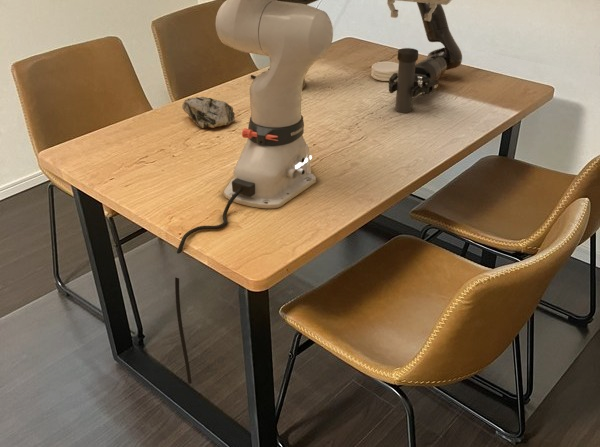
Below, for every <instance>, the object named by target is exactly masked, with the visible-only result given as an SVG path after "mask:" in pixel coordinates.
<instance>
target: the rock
mask: <svg viewBox="0 0 600 447" xmlns="http://www.w3.org/2000/svg"><path fill="white" fill-rule="evenodd" d="M181 109H182V110H183V111H184V113H186V114H187V115H188V117H190V118H191V120H192V122H193V123H194V124H195V125H196V126H198V128H202V129H208V128H211V129H213V128H216V127H222V126H229V125H230V124H231V123H233V122H234V121H235V118H236V116H235V112H234V107H233V106H231V105H230V104H229V103H228V102H226V101H223V100H219V99H215V98H211V97H205V96H200V97H191V98H186V99H185V100H184V101H183V103H182V105H181Z"/></svg>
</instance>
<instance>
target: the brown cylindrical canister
mask: <svg viewBox="0 0 600 447" xmlns="http://www.w3.org/2000/svg"><path fill="white" fill-rule="evenodd" d="M398 64H399V67H398V81H397V90H396V94H395V95H396V97H395V111H396V112H397V113H401V114H409V113H411V112H412V111H413V98H414V97H411V90H412V89H413V88H414V77H415V65H416V64H417V61H414V62H403V61H399V60H398Z"/></svg>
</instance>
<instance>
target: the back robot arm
mask: <svg viewBox="0 0 600 447" xmlns="http://www.w3.org/2000/svg"><path fill="white" fill-rule="evenodd" d="M277 1H283V2H291V3H300V4H306V5H310V4H312V3H315V2H317V1H318V0H277ZM416 4H417V7H418V10H419V14H420V17H421V20H422V24H423V28H424V32H425V35H426V38H427V41H428V42H429V43H441V44H442V46H444V47H441V48H437V49H434V50H432V51H430V52H428V54H427V57H426V58H425V59H423V60H421V61H419V62H417V63H416V65H415V77H414V88H413V89H412V90H411V97H413V98H415V97H417V96H419V95H422V94H424V95H426V96H428V95H430V94H431V93H434V92H435V91H437V90H438V87H439V80H438V79H440V78H441V77H442V76H443V75H444V74H445V73H446V71H449V70H452V69H456V68H459V67H460V66H461V65H462V62H463V52H462V50H461V49H460V46H459V45H458V43H457V42H456V40H455V39H454V37H453V35H452V33H451V31H450V30H451V29H450V28H449V22H448V20H447V16H446V13H445V9H444V8H443V5H442V4H437V7H436V9H435V10H434V11H433V13H432V17H431V21H424V18H425V17H424V15H425V14H426V13H429V11H430V10H431V8H430V3H420V2H416ZM268 70H269V68H267V70H265V71H262V72H261V73H260V74H262V73H264V72H266V71H268ZM256 77H257V75H254V74H250V78H252V79H255V78H256ZM397 81H398V73H394V74H393V75H392V76H391V77H390V79H389V81H388V92H389V94H394V93H395V92H397ZM305 87H306V80H305V78H304V81H303V85H302V90H303V89H305Z"/></svg>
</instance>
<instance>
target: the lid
mask: <svg viewBox="0 0 600 447" xmlns="http://www.w3.org/2000/svg"><path fill="white" fill-rule="evenodd" d="M418 59H419V50H418V49H416V48H411V47H403V48H399V49H398V50H397V61H398V62H399V61H403V62H414V61H416V62H417V61H418Z"/></svg>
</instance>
